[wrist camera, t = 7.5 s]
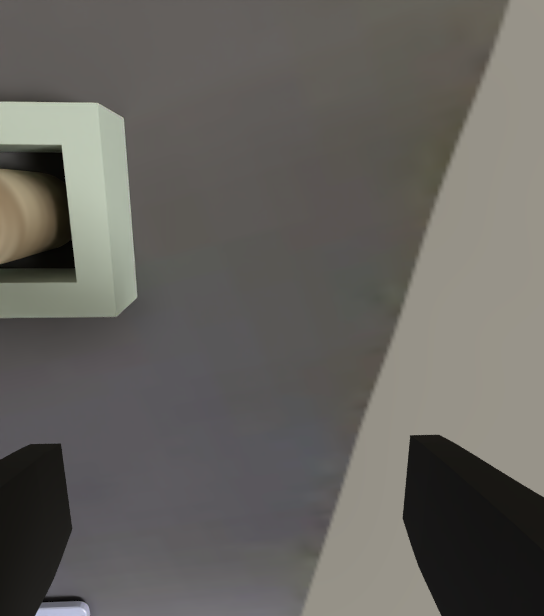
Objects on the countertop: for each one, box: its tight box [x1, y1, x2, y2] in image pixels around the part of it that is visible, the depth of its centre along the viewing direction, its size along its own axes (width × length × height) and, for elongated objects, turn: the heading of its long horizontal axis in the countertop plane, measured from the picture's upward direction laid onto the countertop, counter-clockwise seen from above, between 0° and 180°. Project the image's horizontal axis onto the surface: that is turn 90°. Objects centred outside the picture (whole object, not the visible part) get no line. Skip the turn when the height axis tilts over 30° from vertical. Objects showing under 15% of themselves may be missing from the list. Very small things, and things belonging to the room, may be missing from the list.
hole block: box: [0, 102, 137, 318], centre depth 16 cm, size 7×7×3 cm
